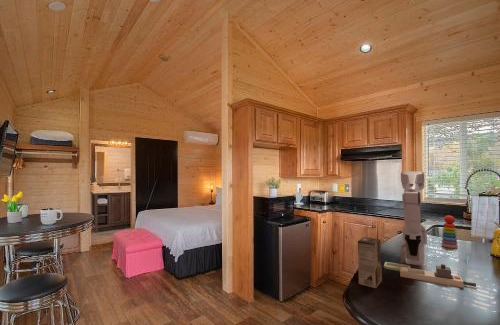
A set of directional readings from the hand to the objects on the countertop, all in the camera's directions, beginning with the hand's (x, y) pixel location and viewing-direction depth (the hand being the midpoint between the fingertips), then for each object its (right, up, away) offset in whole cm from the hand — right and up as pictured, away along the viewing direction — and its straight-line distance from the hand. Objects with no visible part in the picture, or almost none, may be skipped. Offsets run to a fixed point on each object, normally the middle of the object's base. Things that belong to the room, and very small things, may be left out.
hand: (413, 254), depth 106 cm
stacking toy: (+53, -13, +50) cm, 74 cm away
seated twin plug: (+8, -9, -6) cm, 13 cm away
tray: (-2, -10, +9) cm, 13 cm away
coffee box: (-21, -9, -7) cm, 24 cm away
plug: (0, -2, 0) cm, 2 cm away
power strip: (+6, -9, -5) cm, 11 cm away
